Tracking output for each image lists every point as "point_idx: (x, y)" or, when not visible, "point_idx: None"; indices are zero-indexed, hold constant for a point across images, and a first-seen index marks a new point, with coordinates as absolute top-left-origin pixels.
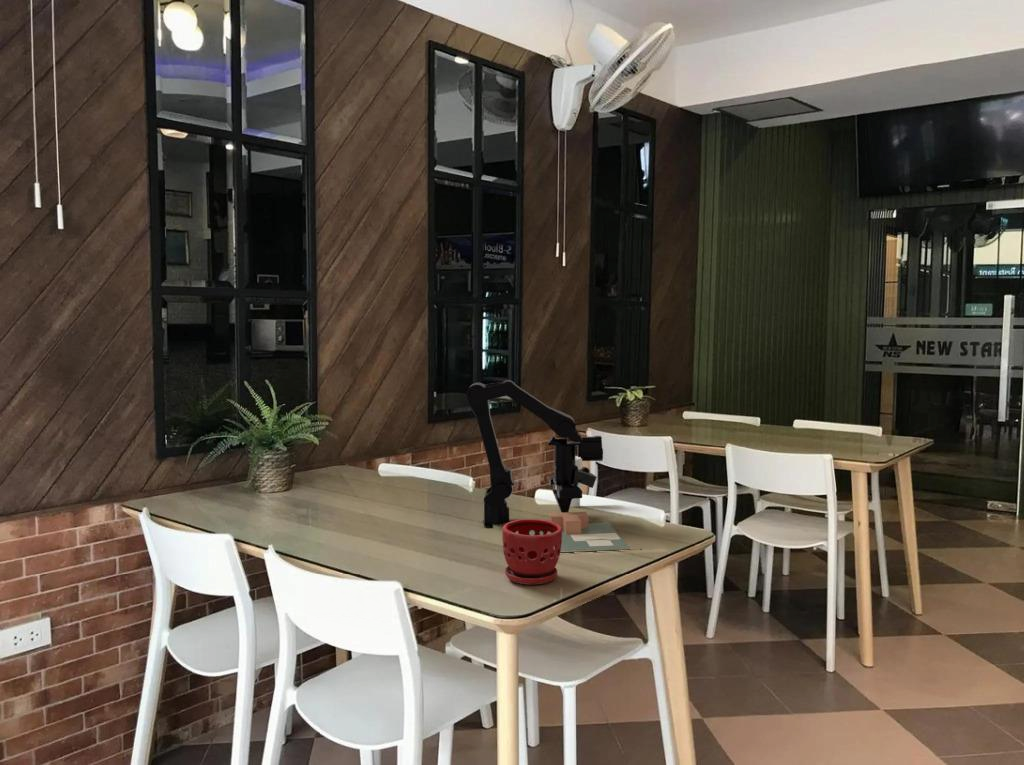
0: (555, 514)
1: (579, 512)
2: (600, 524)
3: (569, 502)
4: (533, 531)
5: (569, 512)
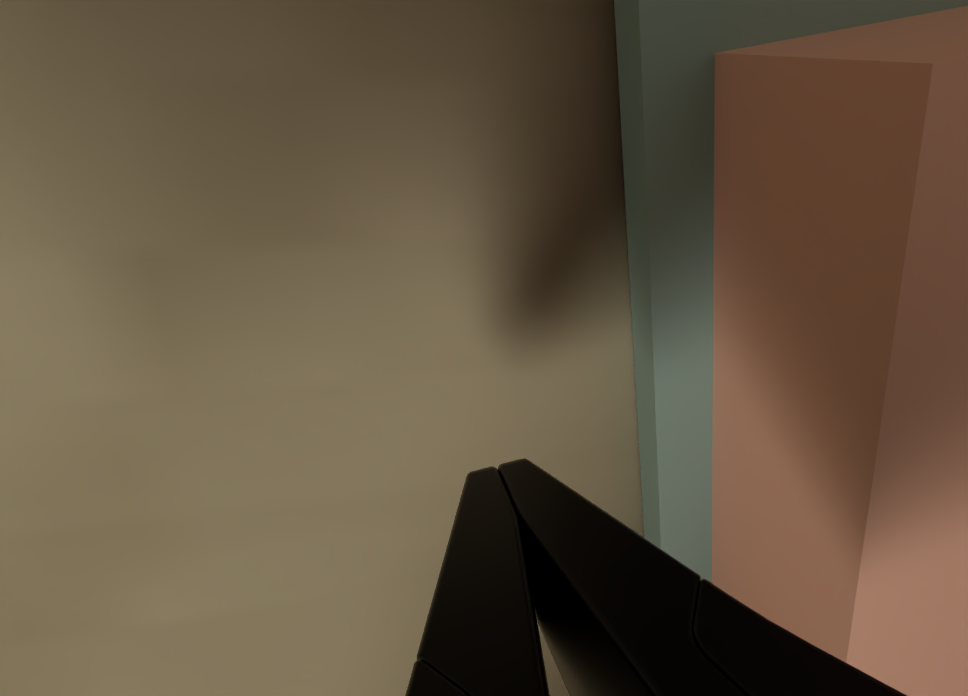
0: (948, 684)
1: (956, 258)
2: None
3: (831, 694)
4: None
5: (884, 488)
